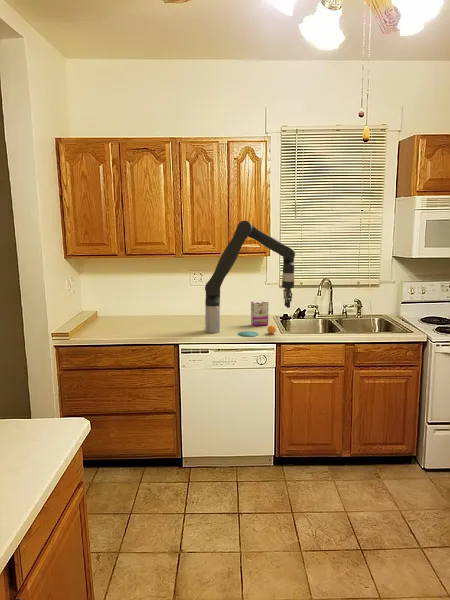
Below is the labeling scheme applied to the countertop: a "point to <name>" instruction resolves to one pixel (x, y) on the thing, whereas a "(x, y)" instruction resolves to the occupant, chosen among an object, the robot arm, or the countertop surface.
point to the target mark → (248, 334)
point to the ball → (271, 329)
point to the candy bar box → (259, 313)
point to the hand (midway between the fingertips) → (287, 306)
